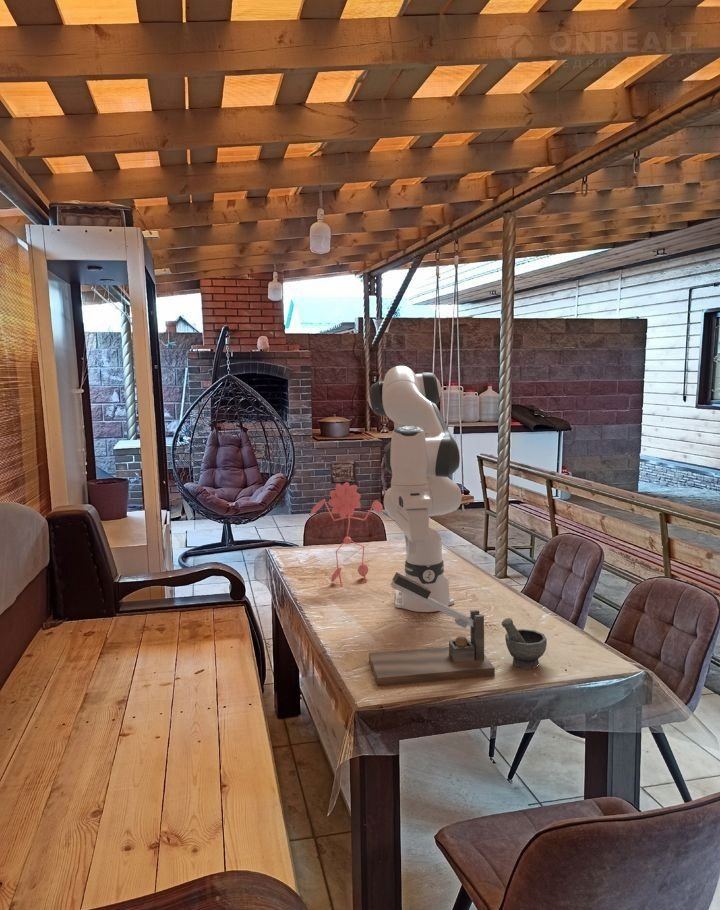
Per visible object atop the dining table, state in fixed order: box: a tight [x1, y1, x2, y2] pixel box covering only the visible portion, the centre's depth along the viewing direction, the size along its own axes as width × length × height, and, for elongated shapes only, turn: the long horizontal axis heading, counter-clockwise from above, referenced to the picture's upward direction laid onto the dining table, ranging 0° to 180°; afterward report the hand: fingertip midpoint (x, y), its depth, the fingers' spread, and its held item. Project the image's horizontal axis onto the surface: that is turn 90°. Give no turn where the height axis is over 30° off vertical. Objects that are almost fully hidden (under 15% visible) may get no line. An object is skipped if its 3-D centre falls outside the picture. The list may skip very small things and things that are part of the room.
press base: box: [368, 609, 496, 687], centre depth 159 cm, size 14×28×13 cm, turn 97°
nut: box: [454, 635, 468, 647], centre depth 160 cm, size 3×3×3 cm
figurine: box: [309, 481, 384, 587], centre depth 231 cm, size 15×26×35 cm, turn 112°
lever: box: [389, 572, 475, 629], centre depth 158 cm, size 3×24×4 cm, turn 97°
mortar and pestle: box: [501, 617, 548, 670], centre depth 160 cm, size 11×9×12 cm
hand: (411, 552), depth 156 cm, fingers closed
